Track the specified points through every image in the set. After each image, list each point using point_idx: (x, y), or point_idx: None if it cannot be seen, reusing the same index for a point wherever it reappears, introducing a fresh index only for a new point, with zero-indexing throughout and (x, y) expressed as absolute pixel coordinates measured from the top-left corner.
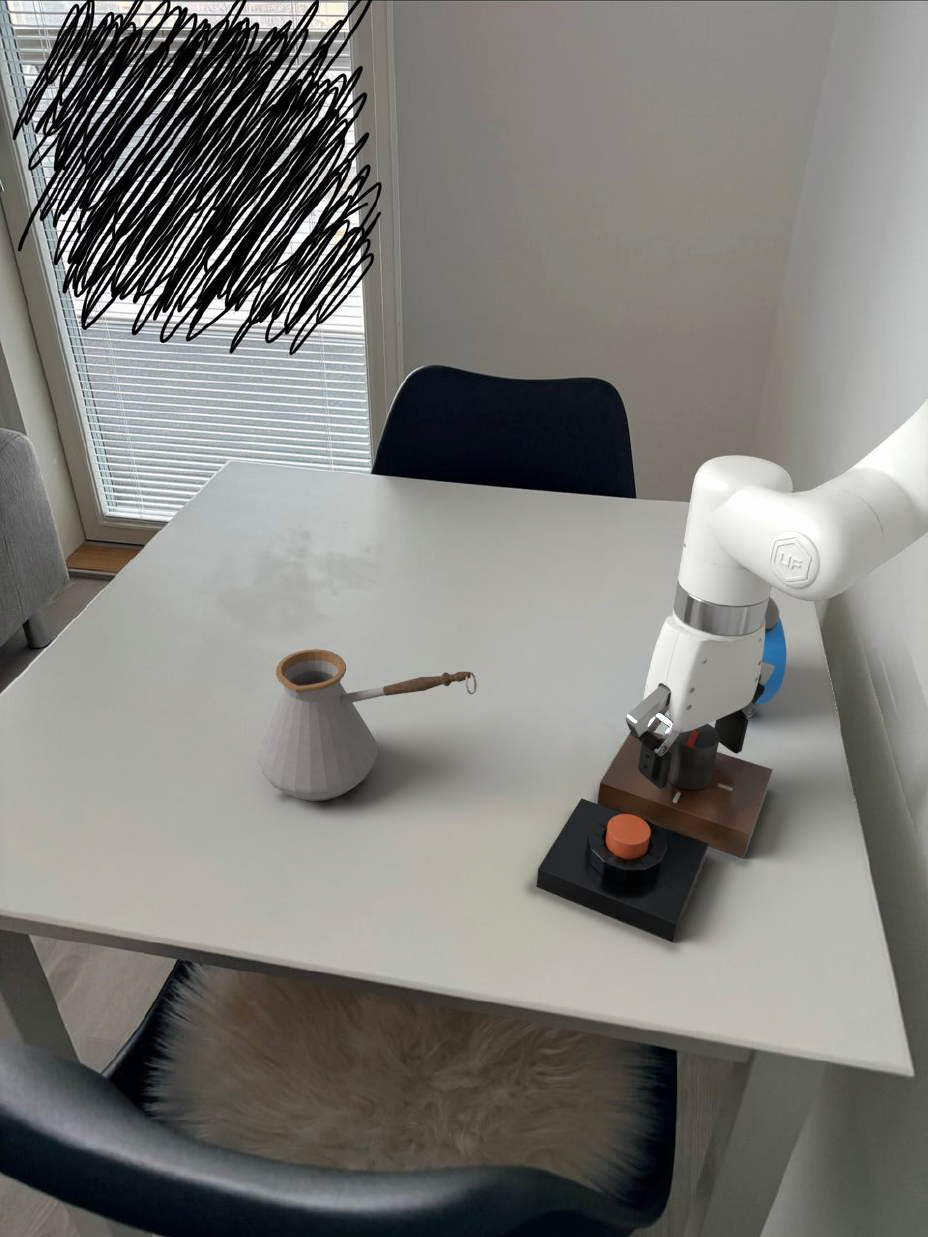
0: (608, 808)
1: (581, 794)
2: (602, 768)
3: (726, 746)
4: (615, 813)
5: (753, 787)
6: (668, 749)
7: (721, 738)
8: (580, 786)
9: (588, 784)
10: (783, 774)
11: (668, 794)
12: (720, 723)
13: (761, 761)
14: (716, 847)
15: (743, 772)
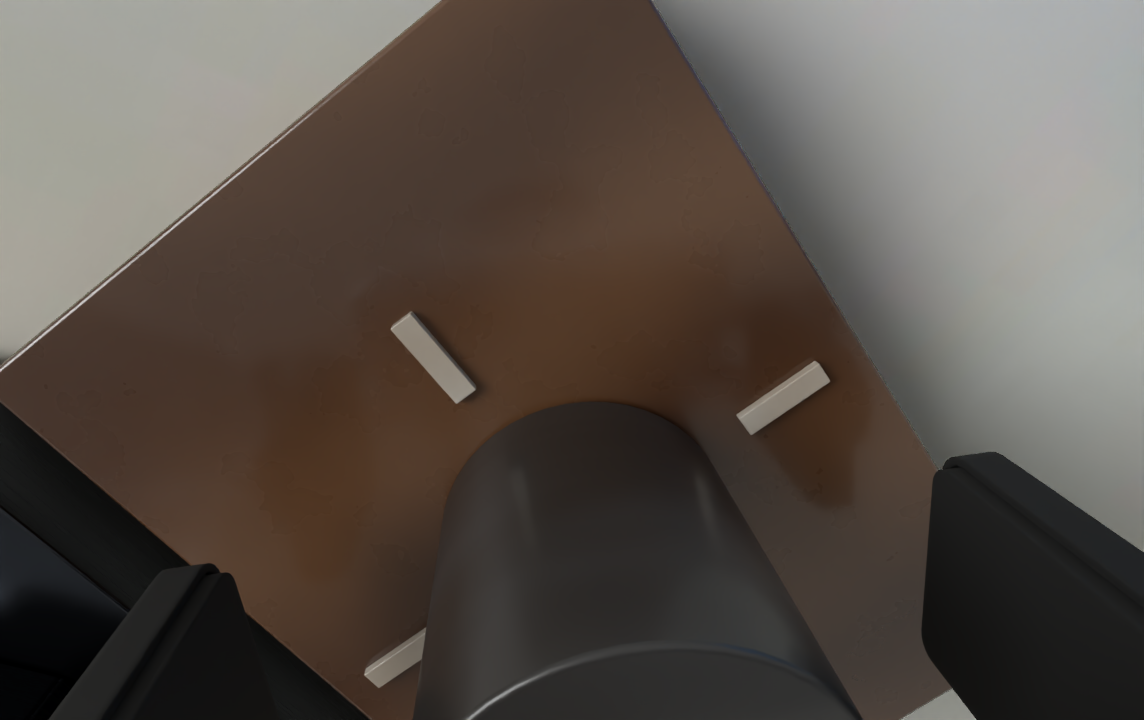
0: (11, 527)
1: (44, 199)
2: (279, 40)
3: (929, 587)
4: (41, 568)
5: None
6: (440, 608)
7: (954, 562)
8: (64, 132)
9: (123, 138)
10: (1107, 474)
11: (378, 616)
12: (1047, 609)
13: (1109, 366)
14: None
15: (890, 608)
